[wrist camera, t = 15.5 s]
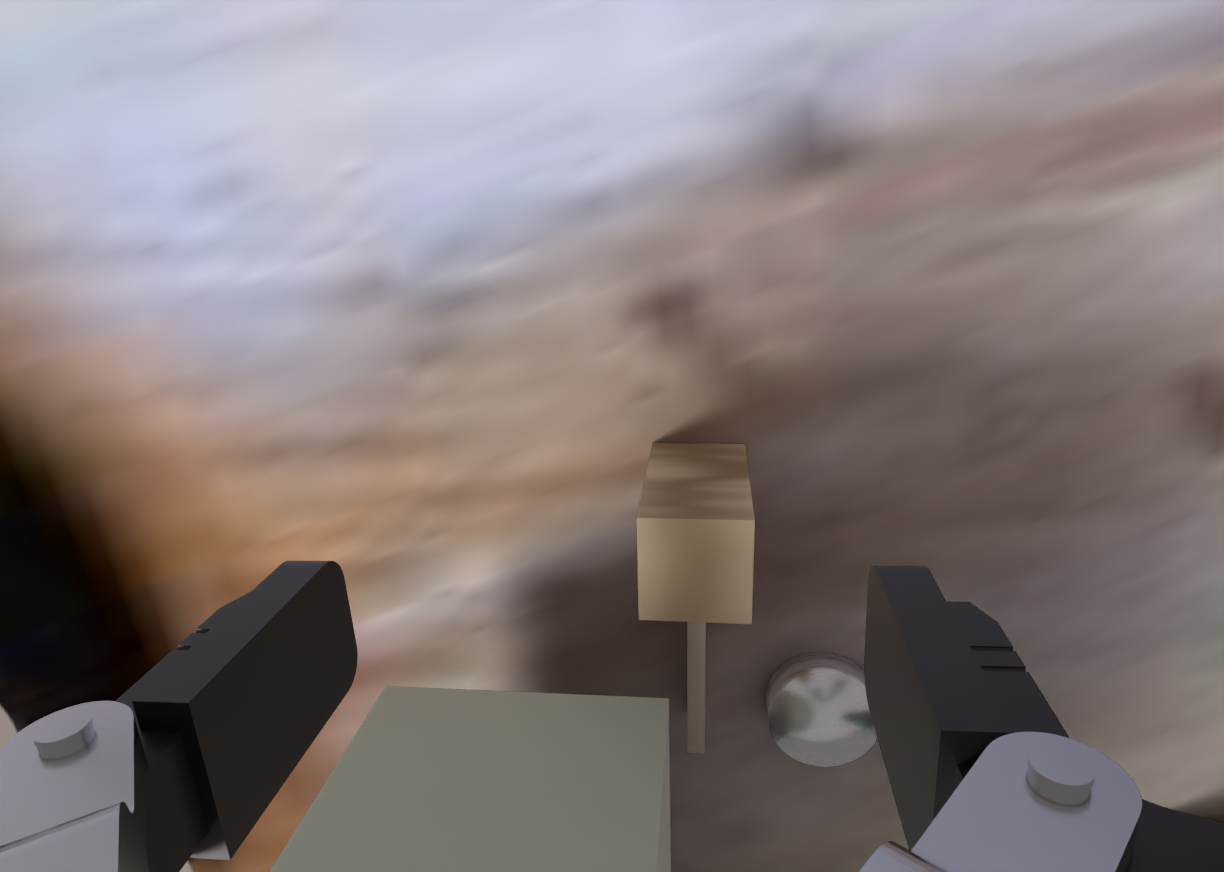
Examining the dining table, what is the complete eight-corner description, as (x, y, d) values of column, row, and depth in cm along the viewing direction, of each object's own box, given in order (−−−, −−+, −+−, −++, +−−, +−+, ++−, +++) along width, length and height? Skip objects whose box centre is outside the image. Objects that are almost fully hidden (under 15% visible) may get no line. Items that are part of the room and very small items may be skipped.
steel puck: (877, 652, 37) (886, 678, 35) (867, 741, 39) (875, 770, 37) (768, 646, 38) (771, 671, 36) (763, 734, 39) (766, 762, 37)
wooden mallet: (745, 443, 34) (755, 520, 27) (738, 715, 39) (745, 847, 31) (652, 442, 35) (636, 517, 27) (656, 711, 39) (643, 840, 32)
